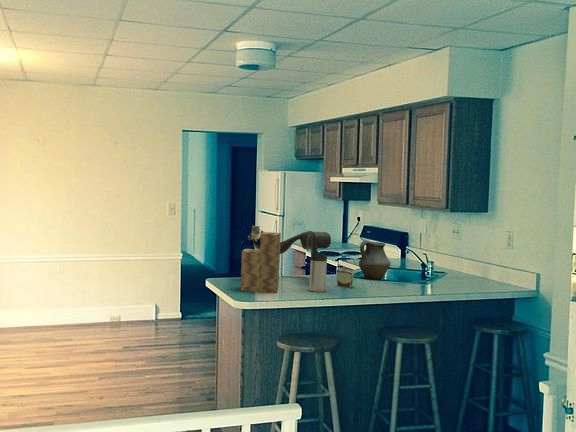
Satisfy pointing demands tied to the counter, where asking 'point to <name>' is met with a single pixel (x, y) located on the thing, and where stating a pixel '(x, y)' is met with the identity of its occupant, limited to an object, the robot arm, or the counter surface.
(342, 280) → the food container
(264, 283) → the walnut step stand
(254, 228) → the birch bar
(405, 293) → the counter surface
